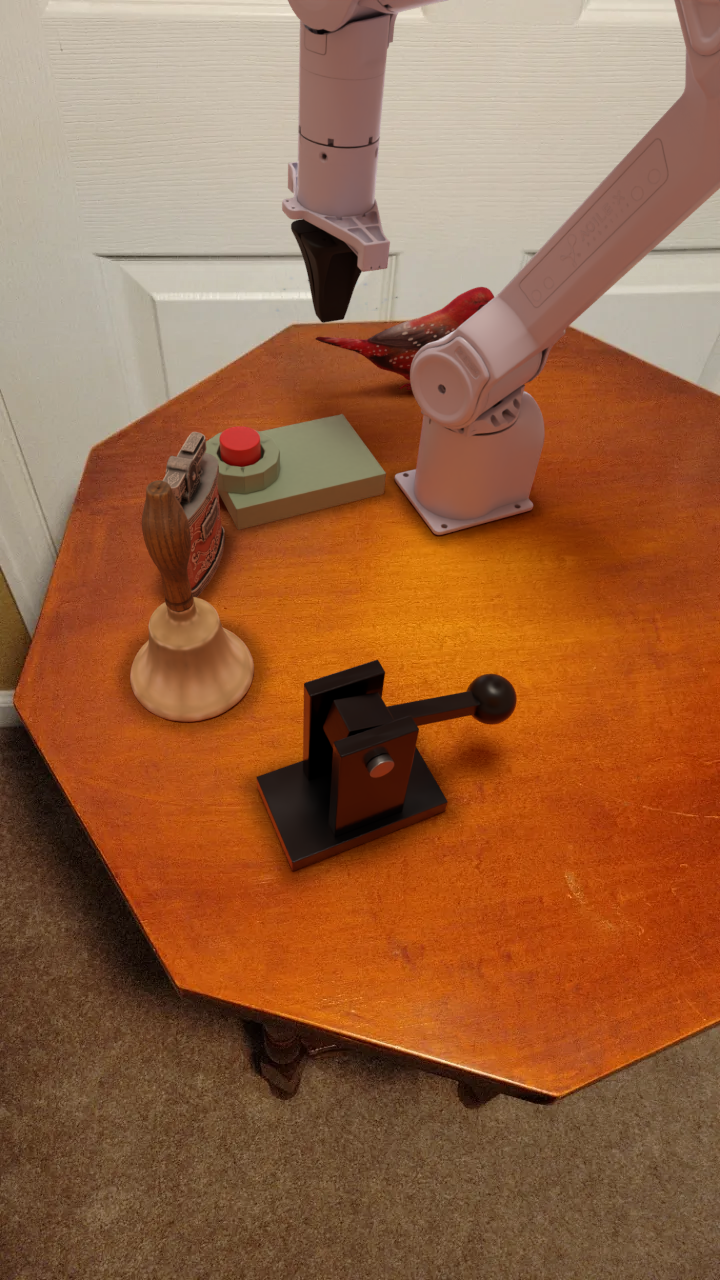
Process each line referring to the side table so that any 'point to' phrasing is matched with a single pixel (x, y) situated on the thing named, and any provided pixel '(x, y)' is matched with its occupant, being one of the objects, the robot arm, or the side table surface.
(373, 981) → the side table surface
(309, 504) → the button box
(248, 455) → the button
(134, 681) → the hand bell
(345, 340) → the decorative bird figurine
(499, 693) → the black lever handle
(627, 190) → the robot arm
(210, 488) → the lighter
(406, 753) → the lever base
